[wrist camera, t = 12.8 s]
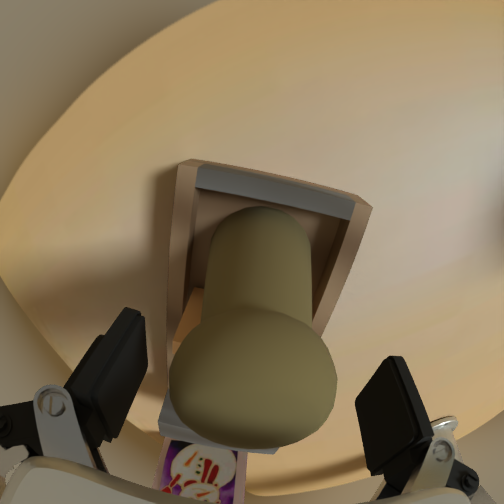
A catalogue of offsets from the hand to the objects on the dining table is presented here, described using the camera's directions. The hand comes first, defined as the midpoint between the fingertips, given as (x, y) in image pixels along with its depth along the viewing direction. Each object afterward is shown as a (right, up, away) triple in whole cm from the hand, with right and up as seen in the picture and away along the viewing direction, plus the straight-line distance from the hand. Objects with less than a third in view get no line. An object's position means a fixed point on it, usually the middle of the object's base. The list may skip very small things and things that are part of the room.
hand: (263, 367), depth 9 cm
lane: (-1, -1, +10) cm, 10 cm away
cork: (0, +4, +7) cm, 8 cm away
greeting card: (-6, -21, +20) cm, 30 cm away
